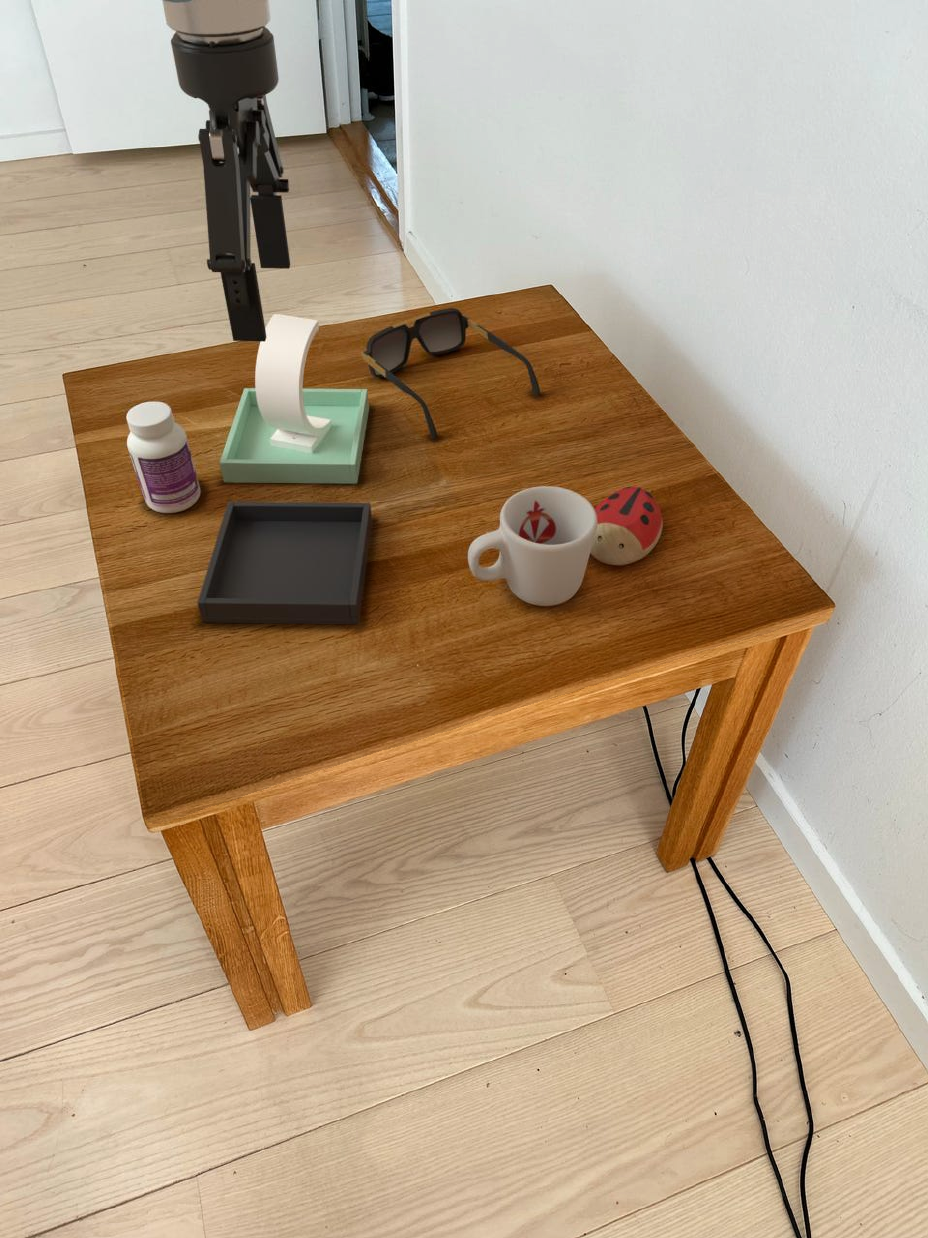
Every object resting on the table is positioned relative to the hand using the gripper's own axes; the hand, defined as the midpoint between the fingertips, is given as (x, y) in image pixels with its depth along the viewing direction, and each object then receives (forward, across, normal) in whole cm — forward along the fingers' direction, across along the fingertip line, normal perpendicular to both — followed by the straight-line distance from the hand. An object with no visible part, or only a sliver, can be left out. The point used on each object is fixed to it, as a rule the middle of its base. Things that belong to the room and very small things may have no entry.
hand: (263, 301), depth 84 cm
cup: (+16, -20, -24) cm, 35 cm away
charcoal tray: (+16, -18, -3) cm, 24 cm away
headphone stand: (+16, +1, -1) cm, 16 cm away
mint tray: (+16, +1, -1) cm, 16 cm away
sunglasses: (+16, +12, -16) cm, 26 cm away
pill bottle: (+16, -8, +10) cm, 21 cm away
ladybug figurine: (+16, -13, -33) cm, 39 cm away
